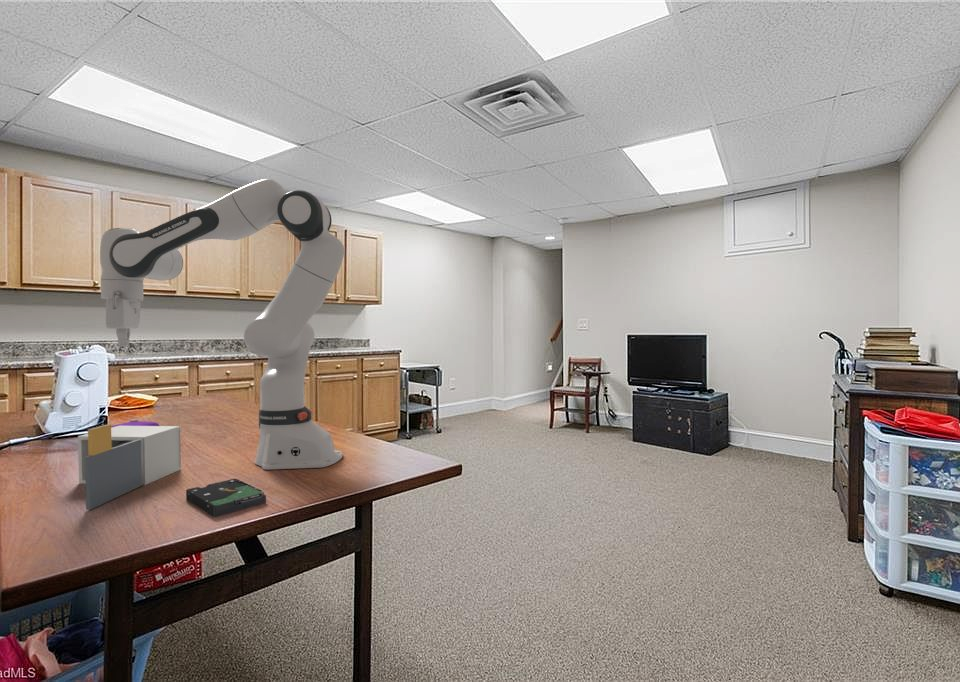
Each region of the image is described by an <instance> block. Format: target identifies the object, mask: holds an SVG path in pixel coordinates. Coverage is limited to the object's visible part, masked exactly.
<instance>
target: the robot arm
mask: <svg viewBox="0 0 960 682" xmlns="http://www.w3.org/2000/svg"><path fill="white" fill-rule="evenodd" d="M332 222H333V221H332V215H331V212H330V210H329V208H328V207H327V206H326V205H325V204H324V202H323V201H322V200H321V199H319V197H317V196H315V195H313V194H312V193H311V192H308V191H306V190H302V189H301V190H300V189H299V190H297V189H296V190H290V191H289V192H286V190H285V188H283V186H282V185H281V184H280V183H278V182H277V181H275V180H274V179H270V178H264V179H260V180H257V181H254V182H252V183H249V184H246V185H244V186H242V187H240V188H238V189H235V190H233V191H232V192H230V193H228V194H226V195H224V196H222V197H221V198H218V199H217V200H215V201H213V202H210V203H208V204H207V205H204V206H201V207H199V208H197V209H194V210H191V211H188V212H185V213H184V214H182V215H179V216H177V217H175V218H172V219H170V220H168V221H165V222H164V223H162V224H159V225H157V226H155V227H153V228H151V229H148V230H147V231H142V232H140V231H139V230H137V229H136V228H135V229H134V228H129V227H116V228H115V227H114V228H109V229H108V230H106V231H104V232H103V234H102V237H101V240H100V248H99V252H100V253H99V257H100V258H99V262H100V263H99V264H100V265H101V270H102V272H101V273H102V274H101V276H100V298H101V299H102V300H106V302H105V326H106V328H107V329H116V330H115V331H116V337H117V343H118V347H120V348H121V347H129V345H130V336H131V329H138V328H139V325H140V319H141V317H140V316H141V302H143V301H144V296H145V295H144V279H147V280H156V281H169V280H174V279H175V278H177V277H178V276H179V275H180V274H181V272H182V270H183V266H184V259H183V256H182V253H180V251H179V250H178V249H180V248H183V247H184V246H185V247H186V246H187V245H189V244H191V243H194V242H197V241H202V240H223V241H238V240H241V239H245V238H247V237H250V236H252V235H254V234H256V233H258V232H260V231H261V230H263V229H265V228H266V227H268V226H270V225H272V224H276V223H281V224H282V226H283V227H284V228H285V229H286V231H288V232H290V233H291V234H292V235H293V237H295V239H297V240H298V241H299V242H301V247H300V251H299V253H298V254H297V257H296V259H295V261H294V263H293V265H292V267H291V269H290V270H289V273H288V274H287V277H286V278H285V281H284V282H283V284H282V286H281V288H280V289H279V290H278V292H277V293H276V295H275V296H274V297H273V298H272V300H271V301H270V302H269V304H268V305H267V306H266V307H265V308H264V309H263V311H262V312H261V313H260V314H259V315H258V316H257V317H256V318H254V319H253V320H252V321H251V322H249V324H248V325H247V326H246V327H245V329H244V332H243V333H244V334H243V342H244V344H245V346H246V348H247V349H248V351H249V352H251V353H252V354H254V355H256V356H259V357H262V358H265V359H268V360H267V363H266V367H265V370H264V373H263V374H262V376H261V378H260V380H259V383H260V384H259V389H260V391H259V392H260V397H259V398H260V408H259V409H258V428H259V437H258V438H259V440H258V446H257V452H256V456H255V459H254V464H255V465H257V466H259V467H261V468H262V470H285V469H286V470H287V469H288V470H289V469H293V470H294V469H313V468H314V469H315V468H326V467H328V466H332V465H334V464H336V463H337V462H339V461H340V460H341V459H342V458H343V451H341V450H339V449H338V450H337V449H335V443H334V439H333V436H332V434H331V433H330V432H329V431H327V430H325V428H323V427H321V426H320V425H318V423H316V422H314V421H313V420H312V414H314V409H309V408H308V407H307V406H305V380H306V379H305V378H306V371H307V366H308V360H309V357H310V355H309V354H310V350H311V348H312V346H313V343H314V342H315V332H314V331H315V330H314V328H313V326H312V325H311V324H310V323H309V321H310V319H311V318H312V317H313V316H314V315H315V314H316V312H318V311H319V310H320V309H321V307H322V306H323V304H324V302H325V300H326V298H327V296H328V294H329V293H330V290H331V288H332V286H333V284H334V282H335V281H336V278H337V275H338V274H339V271H340V268H341V267H342V264H343V259H344V257H345V252H346V249H345V246H344V244H343V242H342V241H341V240H340V239H339V238H338V237H336V236H335V235H334V234H332V233H330V229H331V226H332Z"/></svg>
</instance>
